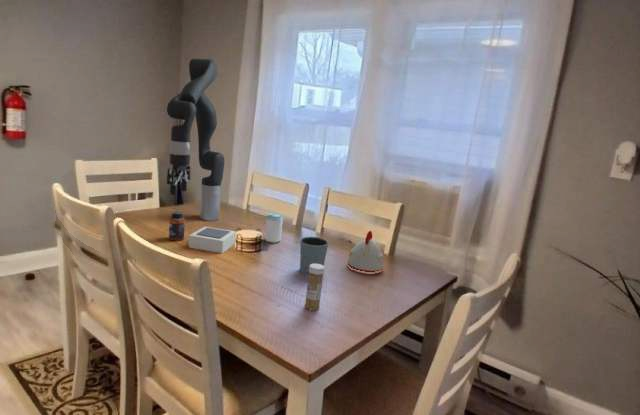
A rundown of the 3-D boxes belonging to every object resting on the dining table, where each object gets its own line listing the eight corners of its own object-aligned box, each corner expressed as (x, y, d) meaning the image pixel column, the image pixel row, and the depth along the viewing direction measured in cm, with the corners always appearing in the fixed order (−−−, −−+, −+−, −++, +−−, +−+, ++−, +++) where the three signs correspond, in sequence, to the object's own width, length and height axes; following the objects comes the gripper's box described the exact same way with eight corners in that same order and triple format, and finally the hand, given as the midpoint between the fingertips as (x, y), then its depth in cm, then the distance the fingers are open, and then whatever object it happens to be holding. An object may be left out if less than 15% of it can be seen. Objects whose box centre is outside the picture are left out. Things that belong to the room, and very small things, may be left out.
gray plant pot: (328, 270, 157) (331, 240, 155) (319, 279, 148) (323, 247, 145) (303, 264, 161) (306, 234, 158) (292, 273, 151) (296, 241, 148)
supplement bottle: (186, 237, 175) (187, 211, 173) (180, 242, 169) (181, 215, 167) (172, 235, 176) (173, 209, 173) (166, 240, 170) (167, 213, 167)
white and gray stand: (204, 237, 178) (205, 225, 177) (235, 243, 176) (236, 230, 175) (188, 247, 165) (189, 234, 163) (222, 253, 162) (223, 240, 161)
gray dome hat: (342, 269, 161) (347, 231, 158) (352, 258, 174) (357, 224, 170) (378, 277, 156) (383, 239, 153) (385, 266, 169) (391, 231, 166)
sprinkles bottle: (301, 306, 126) (306, 264, 123) (311, 302, 130) (316, 261, 127) (312, 312, 123) (317, 269, 120) (322, 308, 127) (327, 266, 124)
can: (270, 244, 180) (273, 217, 177) (261, 239, 185) (263, 213, 182) (283, 242, 184) (286, 216, 182) (274, 237, 190) (277, 212, 187)
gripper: (180, 150, 172) (178, 188, 176) (161, 152, 158) (160, 194, 162) (197, 152, 171) (195, 191, 175) (179, 155, 157) (178, 197, 161)
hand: (178, 192), depth 168 cm, fingers open, 8 cm apart
